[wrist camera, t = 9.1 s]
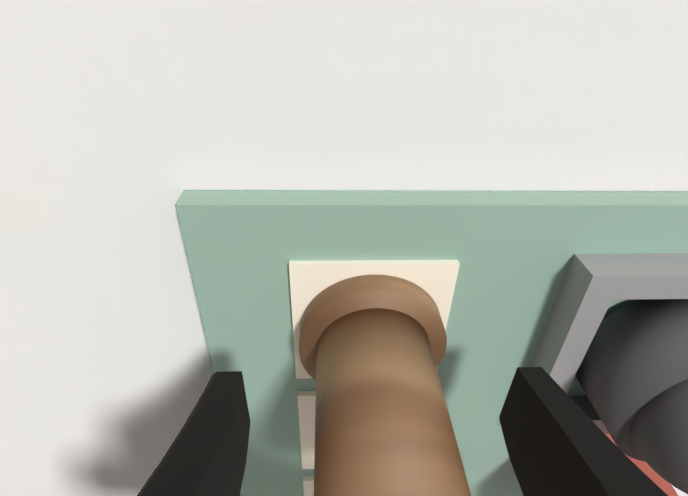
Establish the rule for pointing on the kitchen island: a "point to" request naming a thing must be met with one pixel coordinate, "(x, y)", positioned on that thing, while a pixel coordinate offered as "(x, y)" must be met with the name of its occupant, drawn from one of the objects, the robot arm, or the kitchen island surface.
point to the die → (651, 474)
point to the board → (438, 281)
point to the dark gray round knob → (643, 383)
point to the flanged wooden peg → (379, 391)
